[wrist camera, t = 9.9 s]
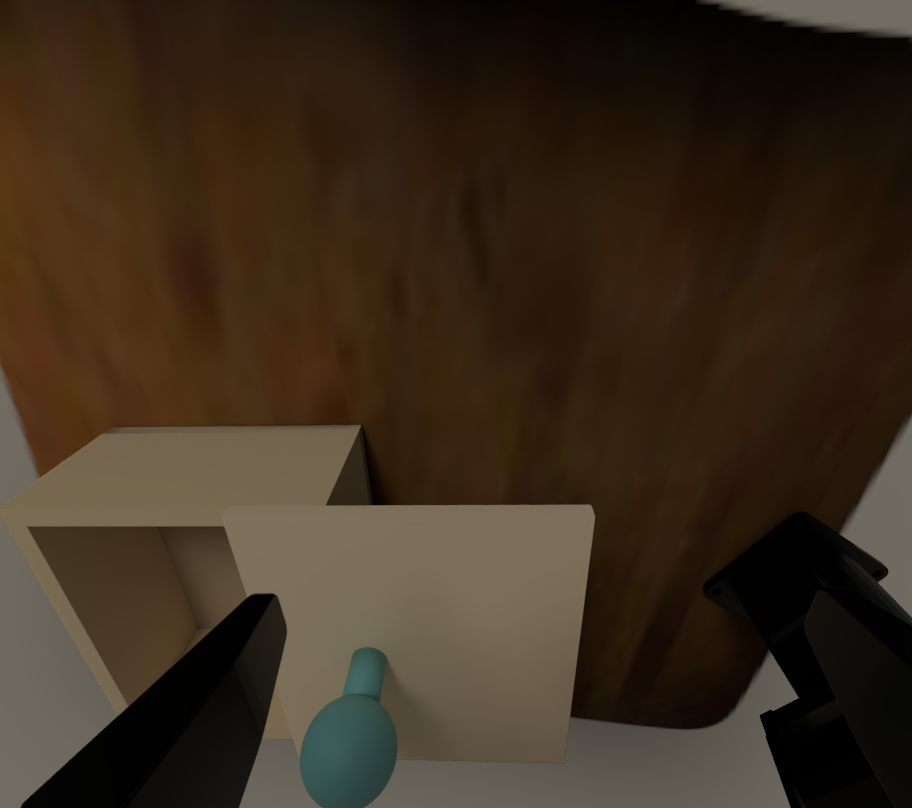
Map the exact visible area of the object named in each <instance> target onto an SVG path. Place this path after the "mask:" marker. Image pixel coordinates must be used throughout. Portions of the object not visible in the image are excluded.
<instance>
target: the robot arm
mask: <svg viewBox="0 0 912 808" xmlns="http://www.w3.org/2000/svg"><path fill="white" fill-rule="evenodd" d="M887 574H888V569H887V568H886V567H885V566H884V565H883V564H882V563H881V562H880V561H878V560H877V559H875V558H874V557H872V556H871V555H869V554H868V553H866V552H865V551H863V550H862V549H860V548H859V547H857V546H856V545H855V544H853V543H851V542H850V541H848V540H847V539H846V538H844V537H843V536H841V535H840V534H838V533H837V532H835V531H834V530H832V529H831V528H829V527H828V526H826V525H825V524H823V523H822V522H820V521H819V520H817V519H816V518H814V517H813V516H811V515H810V514H808V513H806V512H798V513H795V514H794V515H792V516H791V517H789V518H788V519H787V520H786V521H784V522H783V523H782V524H780V525H779V526H778V527H777V528H775V529H774V530H773V531H771V532H770V533H769V534H768V535H766V536H765V537H764V538H763V539H761V540H760V541H759V542H757V543H756V544H755V545H754V546H752V547H751V548H750V549H749V550H747V551H746V552H745V553H743V554H742V555H741V556H740V557H738V558H737V559H736V560H734V561H733V562H732V563H731V564H729V565H728V566H727V567H726V568H724V569H723V570H722V571H720V572H719V573H718V574H717V575H715V576H714V577H713V578H712V579H710V580H709V581H708V582H707V583H706V584H705V585H704V589H705V591H706V593H707V595H708V596H709V597H710V598H712V599H713V600H715V601H717V602H719V603H720V604H722V605H724V606H726V607H727V608H729V609H731V610H733V611H734V612H736V613H738V614H740V615H741V616H743V617H745V618H746V619H748V620H750V621H752V622H753V624H754V626H755V627H756V629H757V630H758V632H759V634H760V635H761V637H762V639H763V640H764V642H765V643H766V645H767V647H768V648H769V650H770V652H771V653H772V655H773V656H774V658H775V660H776V661H777V663H778V665H779V666H780V668H781V670H782V671H783V672H784V674H785V676H786V677H787V679H788V681H789V683H790V684H791V686H792V687H793V689H794V690H795V692H796V694H797V696H798V697H799V698H798V699H796V700H794V701H792V702H790V703H788V704H786V705H785V706H783V707H781V708H779V709H777V710H775V711H772V710H769V711H767V712H765V713H763V714H761V715H760V718H761V721H762V724H763V727H764V730H765V733H766V739H767V742H768V745H769V747H770V750H771V753H772V756H773V759H774V762H775V765H776V767H777V770H778V773H779V776H780V779H781V781H782V784H783V787H784V789H785V793H786V796H787V798H788V801H789V804H790V807H791V808H912V617H911V616H910V615H909V614H908V613H907V612H906V611H905V610H904V609H903V608H902V607H901V606H900V605H899V604H898V603H897V602H896V601H895V600H894V599H893V598H892V597H891V596H890V595H889V594H888V593H887V592H886V591H885V590H884V589H883V588H882V587H881V586H880V585H879V583H878V582H879V581H880V580H882V579H883V578H885V577H886V576H887ZM286 637H287V625H286V621H285V618H284V614H283V611H282V608H281V604H280V601H279V598H278V596H277V595H276V594H274V593H255V594H252V595H250V596H248V597H247V598H246V599H245V600H244V601H243V602H241V603H240V604H239V605H238V606H237V607H236V608H235V609H234V610H233V611H232V612H231V613H229V614H228V615H227V616H226V617H225V618H224V619H223V620H222V621H221V622H220V623H219V624H217V625H216V626H215V627H214V628H213V629H212V630H211V631H210V632H209V633H208V634H207V635H205V636H204V637H203V638H202V639H201V640H200V641H199V642H198V643H197V644H196V645H195V646H194V647H192V648H191V649H190V650H189V651H188V652H187V653H186V654H185V655H184V656H183V657H182V658H180V659H179V660H178V661H177V662H176V663H175V664H174V665H173V666H172V667H171V668H170V669H168V670H167V671H166V672H165V673H164V674H163V675H162V676H161V677H160V678H159V679H158V680H156V681H155V682H154V683H153V684H152V685H151V686H150V687H149V688H148V689H147V690H146V691H144V692H143V693H142V694H141V695H140V696H139V697H138V698H137V699H136V700H135V701H134V702H133V703H131V704H130V705H129V706H128V707H127V708H126V709H125V710H124V711H123V712H122V713H121V714H119V715H118V716H117V717H116V718H115V719H114V720H113V721H112V722H111V723H110V724H109V725H107V726H106V727H105V728H104V729H103V730H102V731H101V732H100V733H99V734H98V735H97V736H96V737H94V738H93V739H92V740H91V741H90V742H89V743H88V744H87V745H86V746H85V747H84V748H82V749H81V750H80V751H79V752H78V753H77V754H76V755H75V756H74V757H73V758H72V759H70V760H69V762H67V763H66V764H65V765H64V766H63V767H62V768H61V769H60V770H59V771H57V772H56V773H55V774H54V775H53V776H52V777H51V778H50V779H49V780H48V781H46V782H45V783H44V784H43V785H42V786H41V787H40V788H39V789H38V790H37V791H36V792H35V793H33V794H32V795H31V796H30V797H29V798H28V799H27V800H26V801H25V802H24V803H23V804H22V805H21V808H239V806H240V803H241V799H242V797H243V794H244V791H245V788H246V785H247V782H248V779H249V776H250V773H251V771H252V767H253V765H254V762H255V759H256V756H257V753H258V750H259V746H260V743H261V740H262V737H263V733H264V730H265V726H266V722H267V718H268V714H269V710H270V705H271V701H272V697H273V693H274V689H275V684H276V680H277V676H278V672H279V668H280V663H281V659H282V655H283V651H284V647H285V642H286Z"/></svg>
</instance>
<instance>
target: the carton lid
mask: <svg viewBox="0 0 912 808" xmlns="http://www.w3.org/2000/svg"><path fill="white" fill-rule="evenodd" d="M221 518H222V521H223V524H224V527H225V530H226V533H227V537H228V540H229V543H230V546H231V549H232V552H233V555H234V558H235V561H236V564H237V567H238V571H239V574H240V577H241V580H242V583H243V586H244V589H245V592H246V595H247V597H248V596H250V595H252V594H255V593H274V594H276V595H277V596H278V598H279V601H280V604H281V608H282V611H283V614H284V618H285V621H286V625H287V637H286V642H285V647H284V651H283V655H282V659H281V663H280V668H279V672H278V676H277V680H276V684H275V685H276V688H277V691H278V694H279V697H280V700H281V703H282V706H283V709H284V713H285V716H286V719H287V722H288V725H289V728H290V731H291V734H292V737H293V740H294V743H295V746H296V749H297V753H298V755H299V757H300V770H301V776H302V780H303V783H304V785H305V788H306V790H307V792H308V793H309V795H310V796H311V798H312V799H313V800H314V801H315V802H316V803H317V804H318V805H319V806H321V807H323V808H363V807H365V806H367V805H368V804H370V803H371V802H372V801H373V800H375V798H377V797H378V796H379V795H380V793H381V792H382V791H383V790H384V788H385V787H386V785H387V783H388V782H389V780H390V777H391V775H392V773H393V770H394V767H395V763H396V760H438V761H483V762H524V763H564V759H565V752H566V744H567V735H568V727H569V720H570V712H571V704H572V696H573V688H574V680H575V672H576V664H577V656H578V648H579V641H580V633H581V625H582V617H583V609H584V601H585V593H586V585H587V577H588V569H589V561H590V553H591V545H592V537H593V529H594V522H595V515H594V512H593V509H592V506H591V505H359V506H229V507H228V509H227V510H226V511H225V513H224V514H223V516H222V517H221Z"/></svg>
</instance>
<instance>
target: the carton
mask: <svg viewBox="0 0 912 808" xmlns="http://www.w3.org/2000/svg"><path fill="white" fill-rule="evenodd" d="M359 505H373V503H372V496H371V489H370V481H369V474H368V467H367V460H366V453H365V446H364V438H363V431H362V425H288V426H198V427H111V428H110V429H108V430H107V431H106V432H104V433H103V434H101V435H100V436H99V437H97V438H96V439H94V440H93V441H91V442H90V443H89V444H87V445H86V446H84V447H83V448H82V449H80V450H79V451H77V452H76V453H74V454H73V455H72V456H70V457H69V458H67V459H66V460H65V461H63V462H62V463H60V464H59V465H57V466H56V467H55V468H53V469H52V470H50V471H49V472H48V473H46V474H45V475H43V476H42V477H41V478H39V479H38V480H36V481H35V482H33V483H32V484H31V485H29V486H28V487H26V488H25V489H24V490H22V491H21V492H19V493H18V494H16V495H15V496H14V497H12V498H11V499H9V500H8V501H7V502H5V503H4V504H2V505H1V506H0V517H1V519H2V521H3V522H4V524H5V526H6V528H7V529H8V531H9V533H10V534H11V536H12V538H13V539H14V541H15V543H16V545H17V546H18V548H19V550H20V551H21V553H22V555H23V556H24V558H25V560H26V561H27V563H28V565H29V566H30V568H31V570H32V572H33V573H34V575H35V577H36V578H37V580H38V582H39V584H40V585H41V587H42V588H43V590H44V592H45V594H46V595H47V597H48V599H49V600H50V602H51V604H52V605H53V607H54V609H55V611H56V612H57V614H58V616H59V617H60V619H61V621H62V622H63V624H64V626H65V628H66V629H67V631H68V633H69V634H70V636H71V638H72V639H73V641H74V643H75V644H76V646H77V648H78V650H79V651H80V653H81V655H82V656H83V658H84V660H85V662H86V663H87V665H88V667H89V668H90V670H91V671H92V673H93V675H94V677H95V678H96V680H97V682H98V684H99V685H100V687H101V688H102V690H103V692H104V694H105V695H106V697H107V699H108V700H109V702H110V704H111V705H112V707H113V709H114V711H115V712H116V714H117V716H118V715H119V714H121V713H122V712H123V711H124V710H125V709H126V708H127V707H128V706H129V705H130V704H131V703H133V702H134V701H135V700H136V699H137V698H138V697H139V696H140V695H141V694H142V693H143V692H144V691H146V690H147V689H148V688H149V687H150V686H151V685H152V684H153V683H154V682H155V681H156V680H158V679H159V678H160V677H161V676H162V675H163V674H164V673H165V672H166V671H167V670H168V669H170V668H171V667H172V666H173V665H174V664H175V663H176V662H177V661H178V660H179V659H180V658H182V657H183V656H184V655H185V654H186V653H187V652H188V651H189V650H190V649H191V648H192V647H194V646H195V645H196V644H197V643H198V642H199V641H200V640H201V639H202V638H203V637H204V636H205V635H207V634H208V633H209V632H210V631H211V630H212V629H213V628H214V627H215V626H216V625H217V624H219V623H220V622H221V621H222V620H223V619H224V618H225V617H226V616H227V615H228V614H229V613H231V612H232V611H233V610H234V609H235V608H236V607H237V606H238V605H239V604H240V603H241V602H243V601H244V600H245V599H246V598H247V595H246V592H245V589H244V586H243V583H242V580H241V577H240V574H239V571H238V567H237V564H236V561H235V558H234V555H233V552H232V549H231V546H230V543H229V540H228V537H227V533H226V530H225V527H224V524H223V521H222V518H221V517H222V516H223V514H224V513H225V511H226V510H227V509H228V507H229V506H359ZM262 738H286V739H287V738H290V739H293V737H292V734H291V731H290V728H289V725H288V722H287V719H286V716H285V713H284V709H283V706H282V703H281V700H280V697H279V694H278V691H277V688H276V685H275V689H274V693H273V697H272V701H271V705H270V710H269V714H268V718H267V722H266V726H265V730H264V733H263V737H262Z"/></svg>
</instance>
